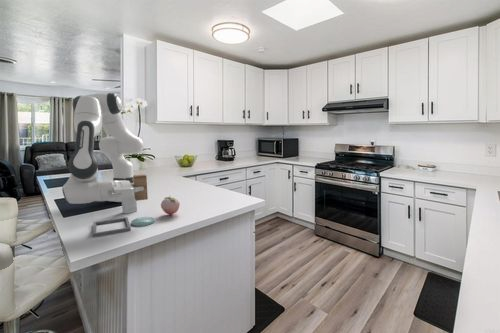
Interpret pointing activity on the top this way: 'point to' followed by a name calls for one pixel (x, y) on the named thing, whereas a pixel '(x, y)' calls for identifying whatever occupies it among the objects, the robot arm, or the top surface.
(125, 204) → the skincare box
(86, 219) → the top surface
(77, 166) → the robot arm
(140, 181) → the walnut block
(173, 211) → the decorative fruit
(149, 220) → the teal round disc
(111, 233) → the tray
